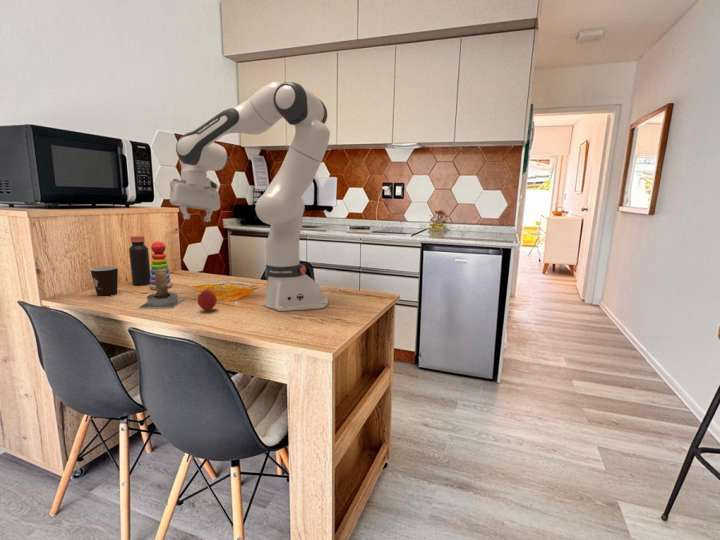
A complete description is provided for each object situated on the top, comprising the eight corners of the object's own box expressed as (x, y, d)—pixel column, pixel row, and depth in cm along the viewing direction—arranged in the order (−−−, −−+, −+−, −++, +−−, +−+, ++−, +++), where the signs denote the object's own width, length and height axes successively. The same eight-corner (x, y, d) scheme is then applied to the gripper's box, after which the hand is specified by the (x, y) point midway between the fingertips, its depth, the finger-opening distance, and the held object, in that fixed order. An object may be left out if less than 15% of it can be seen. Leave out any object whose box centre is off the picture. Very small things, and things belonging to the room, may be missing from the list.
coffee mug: (121, 295, 147) (118, 269, 145) (93, 298, 142) (90, 271, 140) (119, 288, 156) (116, 264, 154) (93, 291, 152) (89, 266, 150)
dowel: (170, 301, 139) (167, 267, 137) (166, 304, 136) (163, 269, 133) (159, 301, 139) (156, 267, 137) (155, 304, 136) (152, 269, 133)
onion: (215, 313, 128) (213, 289, 126) (196, 314, 127) (194, 290, 125) (218, 308, 133) (217, 285, 132) (200, 308, 132) (199, 285, 131)
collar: (184, 299, 143) (184, 291, 143) (173, 308, 133) (172, 299, 132) (153, 299, 143) (152, 291, 142) (139, 308, 132) (138, 300, 131)
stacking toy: (163, 290, 155) (158, 243, 151) (145, 289, 156) (140, 242, 152) (176, 285, 162) (172, 240, 158) (159, 284, 164) (154, 239, 160)
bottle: (153, 282, 168) (149, 235, 164) (147, 285, 162) (142, 237, 157) (136, 282, 167) (131, 235, 163) (129, 286, 161) (124, 237, 157)
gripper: (176, 175, 134) (179, 215, 134) (221, 186, 153) (224, 221, 152) (163, 178, 137) (166, 218, 137) (209, 188, 155) (212, 223, 155)
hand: (197, 220), depth 145 cm, fingers open, 8 cm apart
